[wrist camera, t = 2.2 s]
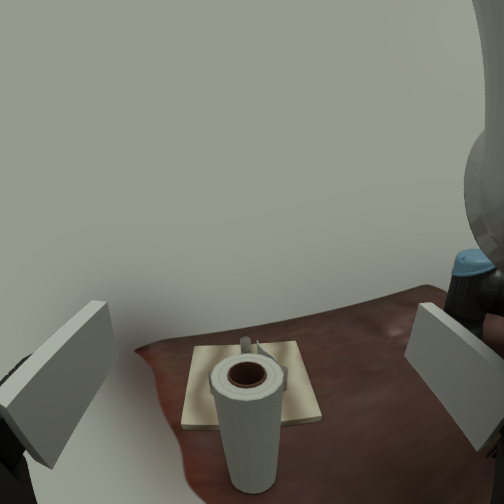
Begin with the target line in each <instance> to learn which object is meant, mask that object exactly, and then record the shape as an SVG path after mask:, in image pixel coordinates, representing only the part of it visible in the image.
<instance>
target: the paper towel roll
mask: <svg viewBox="0 0 504 504" xmlns="http://www.w3.org/2000/svg"><path fill="white" fill-rule="evenodd" d="M283 382H284V374H283V372H282V370H281V367H280V365H279V364H278V362H277V361H276V359H275V357H274V356H272V355H271V354H269V353H268V352H266V351H265V350H263V348H262V347H261V346H260V345H259V343H258V340H257V354H250V353H246V354H238V355H233V356H231V357H228V358H225V359H223V360H222V361H221V362H219V363H218V364H217V365H216V366H215V367H214V369H213V371H212V373H211V383H212V389H213V395H214V401H215V406H216V412H217V417H218V422H219V427H220V432H221V437H222V442H223V446H224V451H225V456H226V460H227V464H228V469H229V473H230V477H231V481H232V483H233V485H234V486H235V487H236V488H237V489H239V490H241V491H242V492H245V493H251V494H255V493H262V492H264V491H265V490H267V489H269V488H270V487H271V486H272V485H273V484H274V482H275V477H276V470H277V460H278V449H279V438H280V425H281V412H282V398H283Z"/></svg>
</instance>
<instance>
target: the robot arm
mask: <svg viewBox="0 0 504 504" xmlns="http://www.w3.org/2000/svg"><path fill="white" fill-rule="evenodd" d="M472 1H473V6H474V10H475V13H476V18H477V22H478V28H479V34H480V40H481V46H482V54H483V63H484V76H485V130H484V131H483V132H482V133H481V134H480V135H479V137H478V138H477V140H476V141H475V143H474V145H473V147H472V149H471V151H470V154H469V157H468V160H467V164H466V169H465V176H464V199H465V207H466V213H467V217H468V221H469V224H470V228H471V230H472V233H473V235H474V237H475V240H476V242H477V243H478V245H479V247H480V249H468V250H463V251H461V252H459V253H458V255H457V256H456V258H455V262H454V267H453V269H452V277H451V282H450V286H449V290H448V294H447V298H446V302H445V306H444V309H443V311H442V310H441V309H440V308H438V307H437V306H436V305H434V304H433V303H432V302H431V303H421V304H419V307H418V311H417V314H416V318H415V322H414V325H413V329H412V332H411V336H410V339H409V342H408V345H407V349H406V352H405V355H404V356H405V357H406V359H407V360H408V361H409V362H410V364H411V365H412V366H413V367H414V368H415V370H416V371H417V372H418V373H419V375H420V376H421V377H422V378H423V380H424V381H425V382H426V384H427V385H428V386H429V387H430V389H431V390H432V391H433V392H434V394H435V395H436V396H437V398H438V399H439V400H440V402H441V403H442V404H443V406H444V407H445V408H446V409H447V411H448V412H449V413H450V415H451V416H452V418H453V419H454V420H455V422H456V423H457V424H458V426H459V427H460V428H461V430H462V431H463V433H464V434H465V435H466V437H467V438H468V440H469V441H470V443H471V444H472V445H473V447H474V448H475V450H476V451H477V452H478V451H479V450H481V449H482V448H484V447H485V446H487V445H489V444H490V443H491V441H492V440H493V439H494V438H495V436H496V435H497V434H498V432H500V434H501V435H502V436H501V437H500V438H499V439H498V441H497V442H496V443H495V444H494V446H493V447H492V448H491V449H490V451H489V452H488V453H487V456H486V458H488V457H489V456H490V455H491V454H492V453H493V452H494V450H496V449H497V451H496V452H495V453H494V454H493V456H492V457H491V458H496V469H495V478H494V485H493V492H492V497H491V503H490V504H504V360H503V359H502V358H501V357H500V356H499V355H498V354H496V353H495V352H494V351H493V350H492V349H490V348H489V347H488V346H487V345H486V344H484V343H483V342H482V335H483V323H484V320H485V316H486V314H487V313H490V314H494V315H498V316H502V317H504V0H472ZM118 359H119V354H118V350H117V346H116V342H115V337H114V334H113V328H112V324H111V319H110V314H109V309H108V303H107V302H103V301H94V300H92V301H91V302H90V303H89V304H88V305H86V306H85V307H84V308H83V309H82V310H81V311H79V312H78V313H77V314H76V315H75V316H74V317H73V318H71V319H70V320H69V321H68V322H67V323H66V324H65V325H64V326H62V327H61V328H60V329H59V330H58V331H57V332H56V333H55V334H54V335H53V336H51V337H50V338H49V339H48V340H47V341H46V342H45V343H44V344H43V345H42V346H41V347H40V348H38V349H37V350H36V352H34V353H33V354H31V355H29V356H27V357H25V358H23V359H22V360H21V361H20V362H19V363H18V364H17V365H16V366H15V369H14V368H13V369H12V370H11V371H10V372H9V373H8V375H6V376H5V377H4V378H3V379H2V380H1V381H0V504H37V501H36V498H35V495H34V490H33V487H32V483H31V479H30V474H29V470H28V465H27V461H26V459H25V457H24V456H23V453H24V451H25V450H27V452H28V453H29V454H30V455H31V457H32V458H33V459H34V460H35V461H37V462H39V463H41V464H42V465H44V466H46V467H48V468H50V469H53V467H54V465H55V463H56V462H57V459H58V458H59V456H60V454H61V452H62V451H63V449H64V447H65V445H66V443H67V442H68V440H69V438H70V436H71V435H72V433H73V431H74V429H75V428H76V426H77V424H78V422H79V421H80V419H81V418H82V416H83V414H84V413H85V411H86V409H87V407H88V406H89V404H90V403H91V401H92V399H93V398H94V396H95V395H96V393H97V391H98V390H99V388H100V386H101V385H102V383H103V382H104V380H105V379H106V377H107V375H108V374H109V372H110V371H111V369H112V368H113V366H114V365H115V363H116V362H117V360H118Z"/></svg>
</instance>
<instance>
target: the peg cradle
mask: <svg viewBox="0 0 504 504" xmlns="http://www.w3.org/2000/svg"><path fill="white" fill-rule="evenodd" d="M259 345H260V346H261V347H262V348H263V350H265V351H266V352H268V353H269V354H271V355H272V356H274V357H275V359H276V361H277V362H278V364H279V365H280V367H281V370H282V372H283V374H284V382H283V398H282V412H281V425H280V427H281V426H290V425H297V424H304V423H311V422H317V421H320V420H321V416H322V415H321V412H320V409H319V406H318V403H317V401H316V398H315V395H314V392H313V389H312V386H311V383H310V380H309V378H308V375H307V372H306V369H305V366H304V363H303V361H302V358H301V355H300V352H299V349H298V346H297V344H296V341H288V342H277V343H263V344H259ZM246 353H250V354H257V344H251V340H250V338H249V337H242V338H241V339H240V345H224V346H195V347H194V352H193V357H192V363H191V368H190V374H189V379H188V385H187V390H186V396H185V402H184V408H183V414H182V420H181V426H182V429H187V430H220V427H219V422H218V417H217V412H216V406H215V401H214V395H213V389H212V383H211V373H212V371H213V369H214V367H215V366H216V365H217V364H218V363H219V362H221V361H222V360H223V359H225V358H228V357H231V356H233V355H238V354H246Z"/></svg>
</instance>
